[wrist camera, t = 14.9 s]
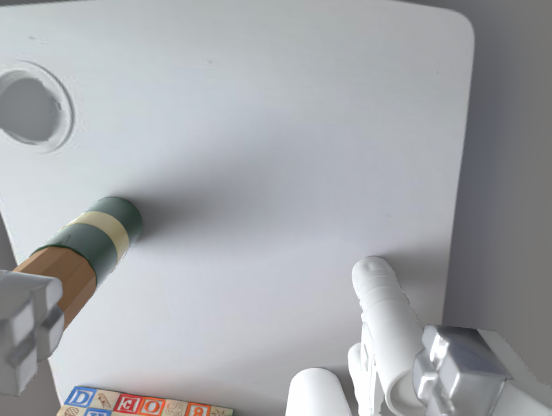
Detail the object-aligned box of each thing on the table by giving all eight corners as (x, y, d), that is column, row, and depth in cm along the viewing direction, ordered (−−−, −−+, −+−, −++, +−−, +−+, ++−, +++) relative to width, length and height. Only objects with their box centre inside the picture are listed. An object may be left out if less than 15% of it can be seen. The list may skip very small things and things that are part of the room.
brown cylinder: (25, 242, 33) (-28, 281, 27) (95, 251, 33) (57, 291, 28) (30, 301, 35) (-18, 348, 29) (96, 309, 35) (61, 357, 30)
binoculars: (349, 253, 46) (388, 365, 29) (397, 252, 46) (463, 365, 29) (343, 372, 52) (373, 522, 35) (385, 372, 52) (435, 523, 35)
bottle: (87, 193, 44) (-22, 269, 28) (143, 200, 44) (66, 280, 28) (89, 243, 46) (-12, 340, 30) (142, 249, 47) (70, 350, 31)
